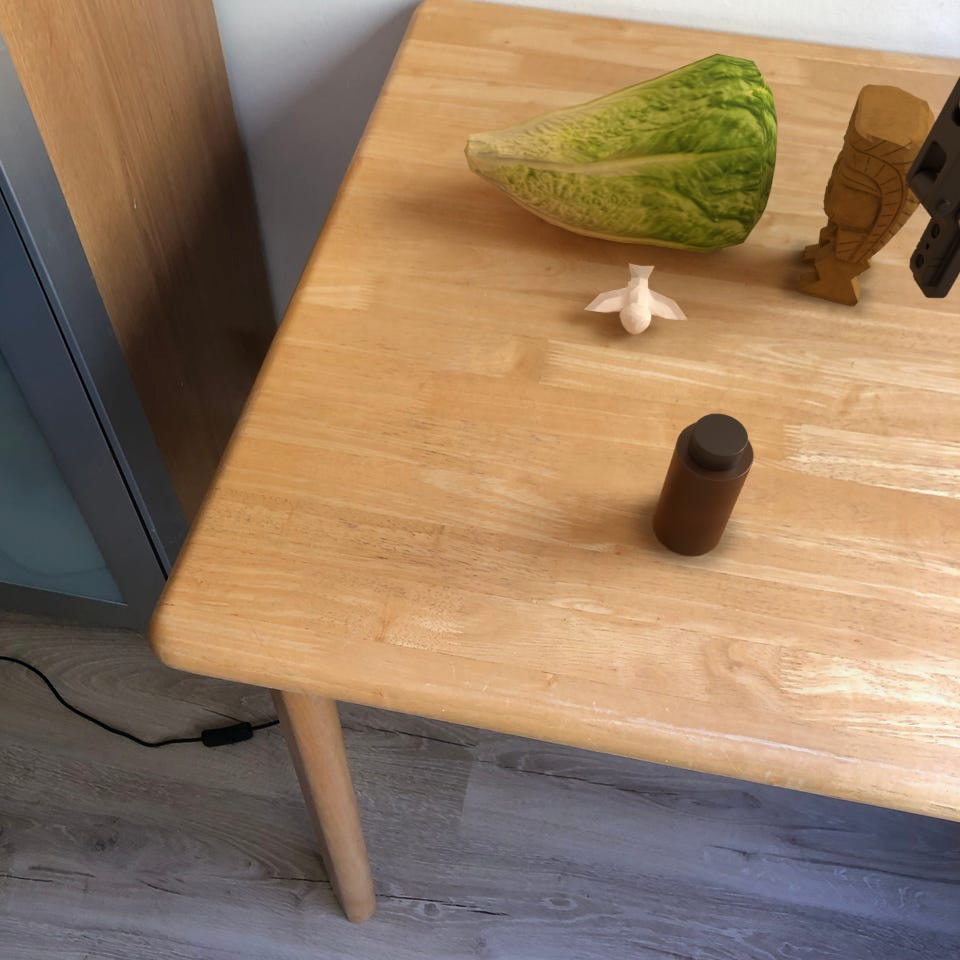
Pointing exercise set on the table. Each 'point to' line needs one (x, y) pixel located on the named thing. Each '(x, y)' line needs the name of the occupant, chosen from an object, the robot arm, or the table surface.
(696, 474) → the pepper mill
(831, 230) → the figurine
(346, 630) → the table surface
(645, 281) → the toy bird
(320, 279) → the table surface
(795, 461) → the table surface
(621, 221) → the lettuce
